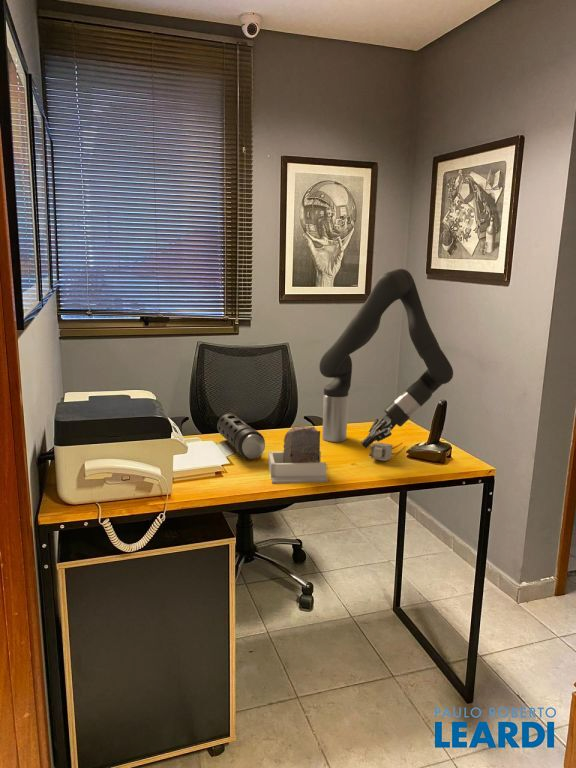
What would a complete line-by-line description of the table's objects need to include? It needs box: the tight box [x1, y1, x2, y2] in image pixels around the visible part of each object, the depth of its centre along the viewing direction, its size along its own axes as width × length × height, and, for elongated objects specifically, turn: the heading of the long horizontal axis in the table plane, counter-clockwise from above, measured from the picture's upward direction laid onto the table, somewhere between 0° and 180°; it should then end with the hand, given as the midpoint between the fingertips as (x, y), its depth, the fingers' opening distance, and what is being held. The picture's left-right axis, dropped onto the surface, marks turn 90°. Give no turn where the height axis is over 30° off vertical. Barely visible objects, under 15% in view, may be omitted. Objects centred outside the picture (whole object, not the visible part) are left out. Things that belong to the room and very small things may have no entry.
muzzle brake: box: [216, 413, 266, 460], centre depth 202 cm, size 10×28×10 cm, turn 23°
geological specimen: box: [283, 426, 321, 463], centre depth 182 cm, size 11×6×15 cm, turn 117°
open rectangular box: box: [267, 450, 329, 484], centre depth 181 cm, size 16×17×4 cm
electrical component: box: [368, 442, 406, 462], centre depth 202 cm, size 24×6×5 cm, turn 152°
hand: (363, 445), depth 184 cm, fingers closed
